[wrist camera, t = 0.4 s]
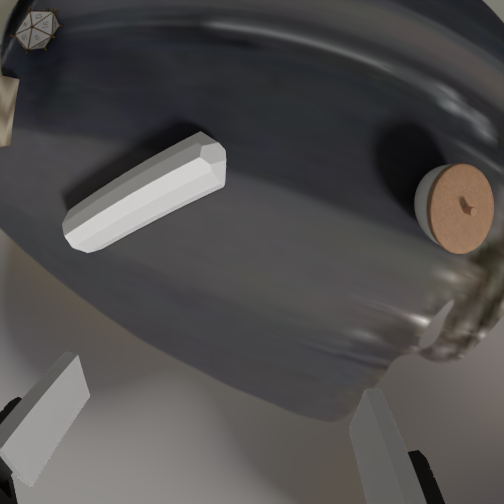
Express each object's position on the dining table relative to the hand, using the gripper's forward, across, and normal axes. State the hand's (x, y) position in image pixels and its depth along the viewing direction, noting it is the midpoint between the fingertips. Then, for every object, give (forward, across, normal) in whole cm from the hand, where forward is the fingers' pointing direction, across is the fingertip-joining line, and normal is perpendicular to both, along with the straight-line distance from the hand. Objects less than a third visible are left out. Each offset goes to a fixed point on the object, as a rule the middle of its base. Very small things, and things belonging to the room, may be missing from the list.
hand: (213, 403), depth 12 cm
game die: (+28, -36, +33) cm, 56 cm away
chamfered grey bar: (+28, -14, +6) cm, 31 cm away
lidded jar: (+27, +25, +9) cm, 38 cm away
